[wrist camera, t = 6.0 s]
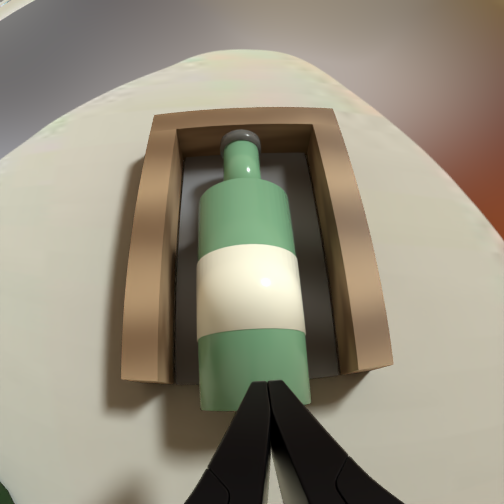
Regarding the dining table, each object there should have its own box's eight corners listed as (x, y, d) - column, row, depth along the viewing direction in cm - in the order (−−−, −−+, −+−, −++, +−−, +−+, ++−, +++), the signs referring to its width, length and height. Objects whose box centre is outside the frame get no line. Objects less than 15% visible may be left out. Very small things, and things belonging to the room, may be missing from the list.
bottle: (207, 412, 11) (207, 109, 18) (194, 407, 16) (196, 164, 23) (333, 401, 13) (290, 122, 20) (287, 402, 17) (266, 172, 25)
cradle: (370, 370, 18) (393, 364, 15) (142, 382, 17) (121, 379, 14) (325, 138, 26) (332, 108, 23) (162, 145, 26) (154, 115, 22)
